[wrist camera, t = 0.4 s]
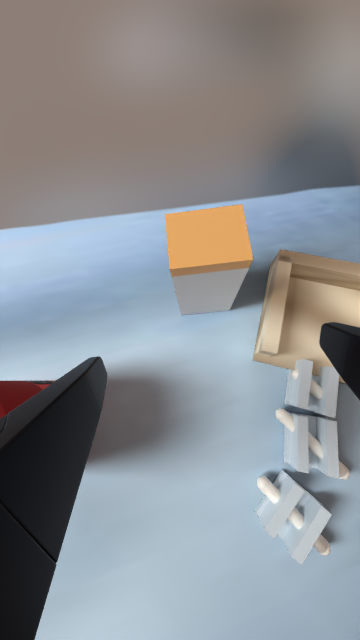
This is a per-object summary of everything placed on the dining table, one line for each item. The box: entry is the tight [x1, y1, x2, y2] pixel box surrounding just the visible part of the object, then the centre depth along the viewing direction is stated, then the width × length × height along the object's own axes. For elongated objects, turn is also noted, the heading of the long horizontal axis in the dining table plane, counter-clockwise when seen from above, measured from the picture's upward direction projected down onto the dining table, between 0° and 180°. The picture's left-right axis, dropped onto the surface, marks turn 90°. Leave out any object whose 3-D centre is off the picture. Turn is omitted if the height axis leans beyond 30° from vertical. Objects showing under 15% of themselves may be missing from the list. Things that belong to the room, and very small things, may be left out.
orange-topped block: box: [165, 204, 253, 315], centre depth 18 cm, size 4×5×10 cm
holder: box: [253, 249, 360, 384], centre depth 20 cm, size 10×10×3 cm
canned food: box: [0, 381, 55, 418], centre depth 16 cm, size 8×8×11 cm
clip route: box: [255, 359, 350, 565], centre depth 18 cm, size 6×14×2 cm, turn 158°
